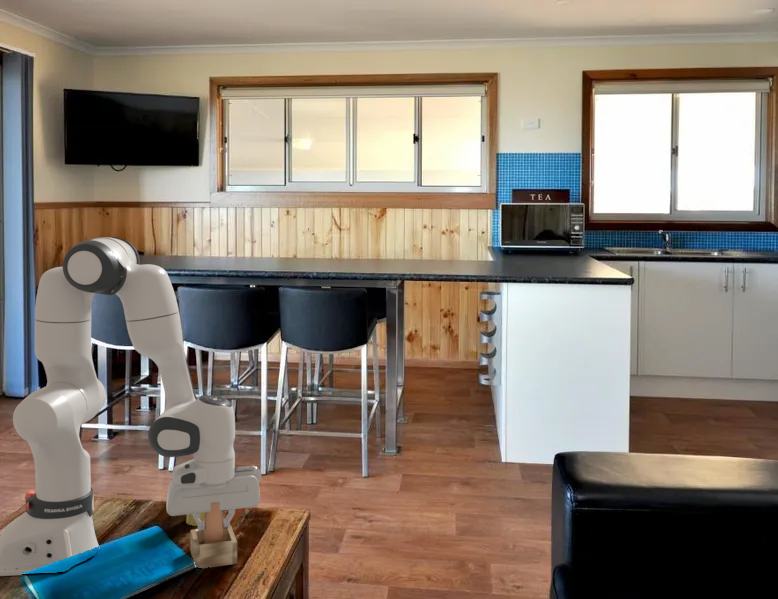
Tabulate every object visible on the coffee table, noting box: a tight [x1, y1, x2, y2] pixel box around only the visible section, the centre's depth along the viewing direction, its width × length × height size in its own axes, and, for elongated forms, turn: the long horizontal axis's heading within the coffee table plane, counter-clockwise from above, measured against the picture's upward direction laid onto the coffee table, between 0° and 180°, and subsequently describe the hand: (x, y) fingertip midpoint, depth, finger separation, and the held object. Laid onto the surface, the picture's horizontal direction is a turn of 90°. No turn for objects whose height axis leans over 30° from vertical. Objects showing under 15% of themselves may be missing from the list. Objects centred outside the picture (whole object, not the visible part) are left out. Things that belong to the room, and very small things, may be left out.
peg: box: [204, 502, 224, 544], centre depth 160 cm, size 4×4×12 cm
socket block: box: [190, 524, 238, 569], centre depth 160 cm, size 9×9×5 cm
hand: (213, 528), depth 160 cm, fingers closed on peg, 4 cm apart
